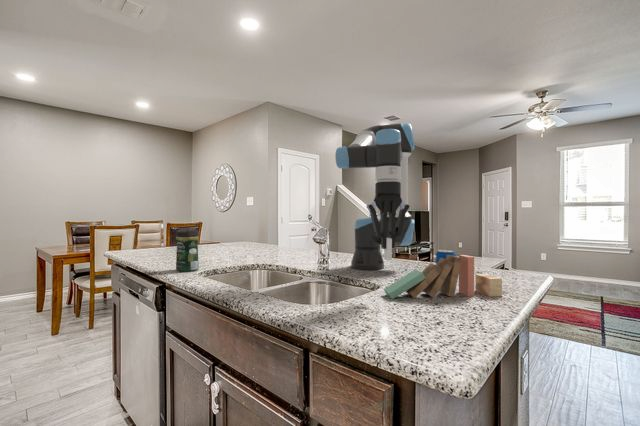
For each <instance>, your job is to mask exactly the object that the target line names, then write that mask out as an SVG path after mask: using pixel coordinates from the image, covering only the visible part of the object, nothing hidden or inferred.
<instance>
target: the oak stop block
mask: <svg viewBox="0 0 640 426" xmlns="http://www.w3.org/2000/svg"><path fill="white" fill-rule="evenodd" d="M475 291H476V292H478V293H480V294H482V295H486V296H488V297H503V279H502V277H499V276H495V275H491V274H490V273H489V274H488V273H475Z"/></svg>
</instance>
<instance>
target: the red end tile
mask: <svg viewBox="0 0 640 426" xmlns="http://www.w3.org/2000/svg"><path fill="white" fill-rule="evenodd" d="M458 257H459V258H462V259H461V264H460V269H459V275H458V293H460V294H461V295H463V296H466V297H474V296H475V256H471V255H467V254H459V255H458Z"/></svg>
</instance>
